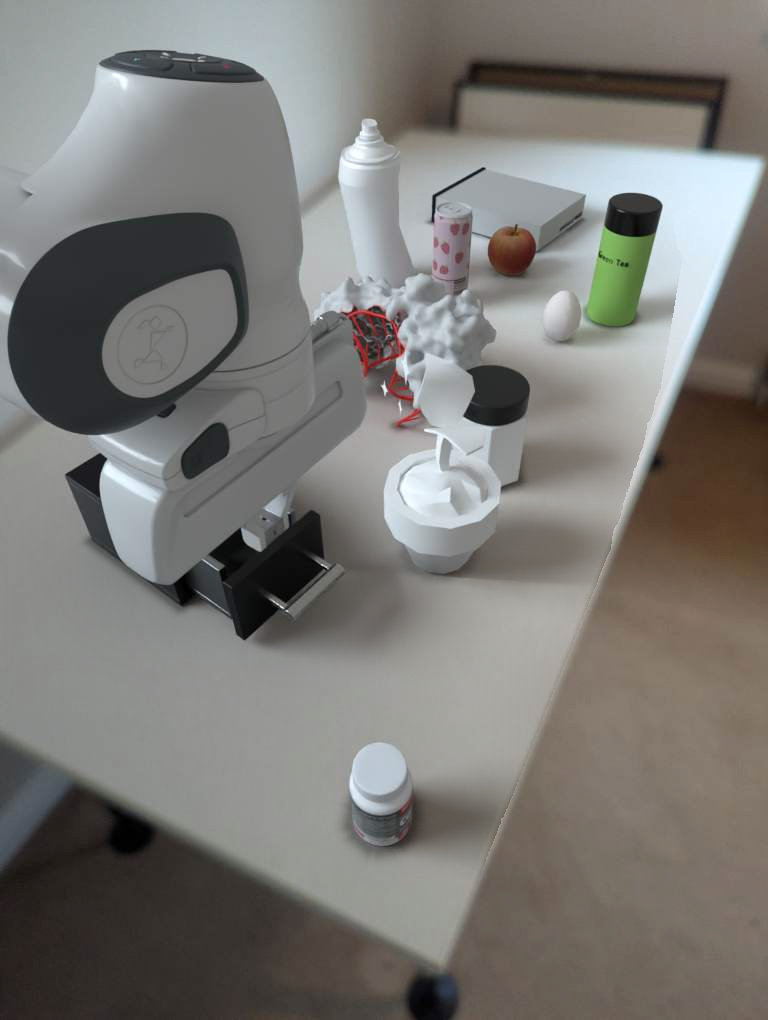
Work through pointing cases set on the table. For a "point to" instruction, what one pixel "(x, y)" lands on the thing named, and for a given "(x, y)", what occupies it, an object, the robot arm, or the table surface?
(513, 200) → the disc drive
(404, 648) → the table surface
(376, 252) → the spray can
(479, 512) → the potted plant
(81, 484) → the black drawer cabinet
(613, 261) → the tumbler
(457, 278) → the beverage can
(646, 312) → the table surface
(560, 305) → the egg
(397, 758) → the pill bottle
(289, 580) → the drawer
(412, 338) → the molecular structure model
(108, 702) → the table surface
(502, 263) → the apple
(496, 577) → the table surface
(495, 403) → the jar
